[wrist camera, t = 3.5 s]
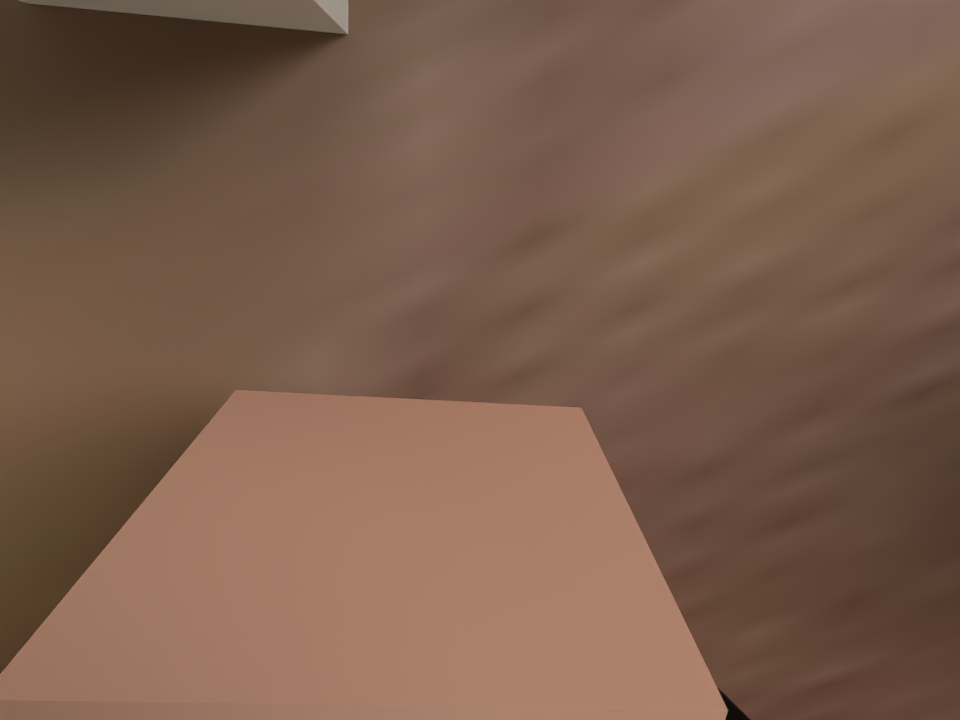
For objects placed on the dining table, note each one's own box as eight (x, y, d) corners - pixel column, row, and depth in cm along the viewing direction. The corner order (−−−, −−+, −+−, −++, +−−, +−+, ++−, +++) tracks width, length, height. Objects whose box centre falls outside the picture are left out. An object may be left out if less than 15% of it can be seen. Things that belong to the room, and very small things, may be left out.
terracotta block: (580, 407, 9) (727, 710, 4) (542, 662, 11) (615, 1077, 6) (235, 389, 9) (-21, 700, 4) (254, 657, 10) (91, 1093, 6)
